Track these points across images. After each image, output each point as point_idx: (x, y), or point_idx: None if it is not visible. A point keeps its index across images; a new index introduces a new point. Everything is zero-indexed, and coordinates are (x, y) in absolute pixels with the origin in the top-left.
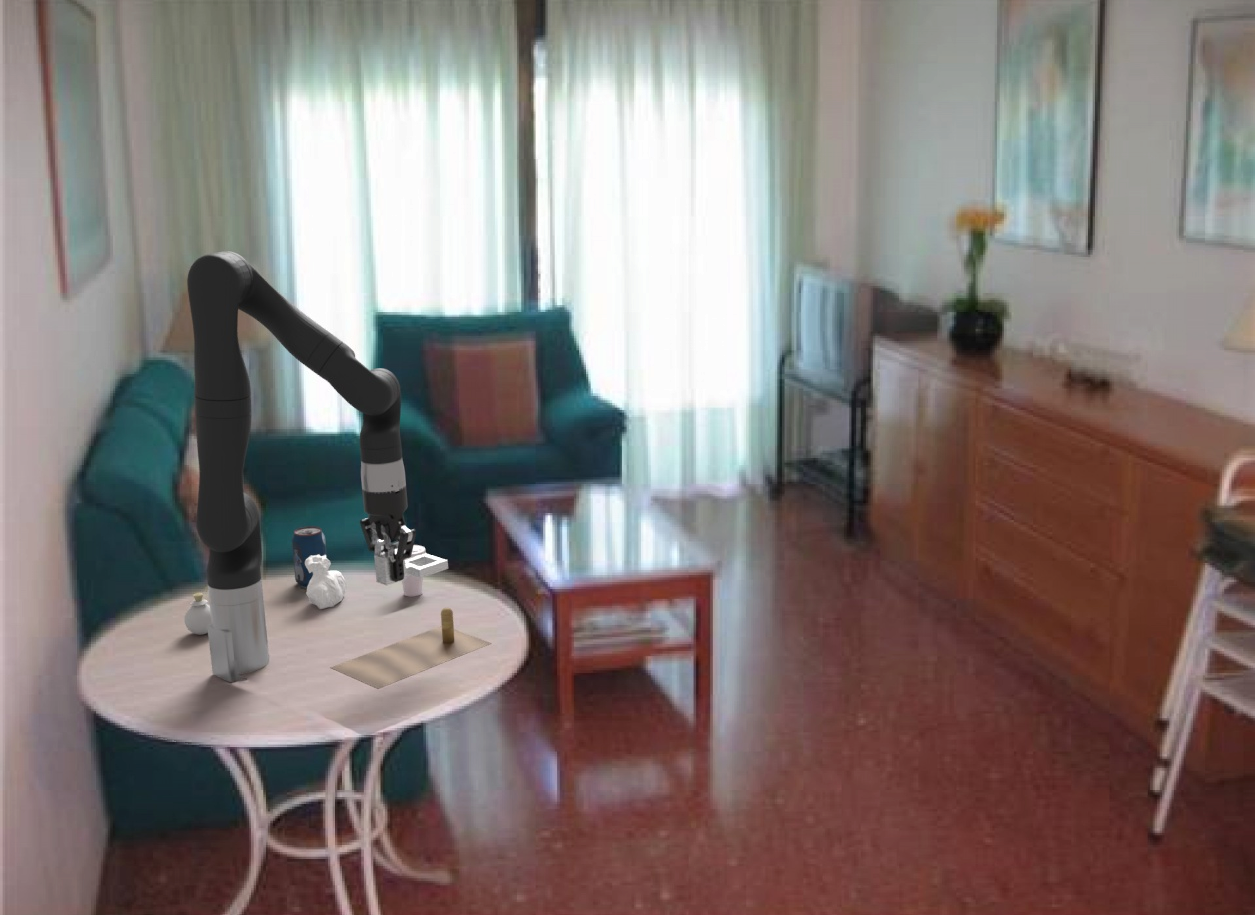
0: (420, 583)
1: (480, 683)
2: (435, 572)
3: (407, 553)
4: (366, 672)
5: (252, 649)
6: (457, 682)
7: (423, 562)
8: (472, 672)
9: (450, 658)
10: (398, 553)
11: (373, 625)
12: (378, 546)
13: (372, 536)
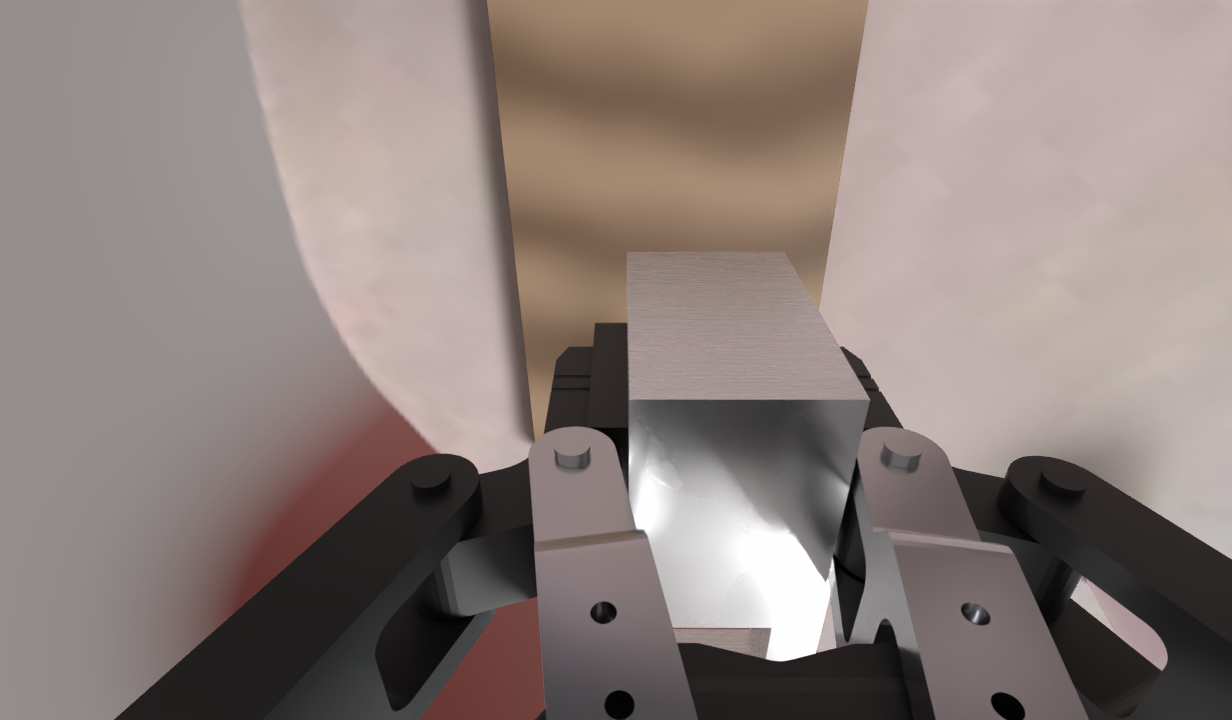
0: (1105, 609)
1: (329, 273)
2: None
3: (413, 599)
4: None
5: None
6: (390, 226)
7: (756, 637)
8: (433, 313)
9: (529, 313)
10: (395, 531)
11: (1074, 350)
12: (876, 535)
13: (1167, 671)
